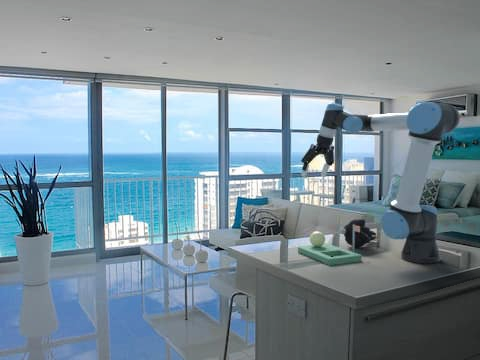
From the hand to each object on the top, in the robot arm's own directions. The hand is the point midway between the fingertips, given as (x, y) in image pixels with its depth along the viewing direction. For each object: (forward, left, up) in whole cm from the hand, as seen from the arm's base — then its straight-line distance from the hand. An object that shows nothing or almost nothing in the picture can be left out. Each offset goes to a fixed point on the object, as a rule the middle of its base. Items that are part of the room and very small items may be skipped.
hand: (313, 176), depth 205 cm
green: (-14, +23, -33) cm, 42 cm away
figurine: (-22, -1, -34) cm, 40 cm away
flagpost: (-25, +20, -33) cm, 46 cm away
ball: (-7, +17, -27) cm, 33 cm away
